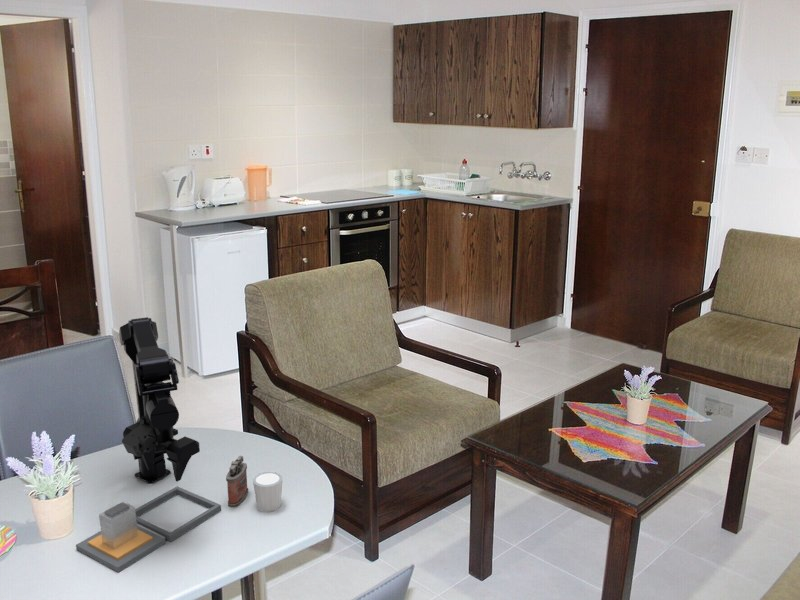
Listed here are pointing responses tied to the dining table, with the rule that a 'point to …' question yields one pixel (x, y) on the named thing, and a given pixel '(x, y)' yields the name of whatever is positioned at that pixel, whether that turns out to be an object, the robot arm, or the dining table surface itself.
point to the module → (118, 525)
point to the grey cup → (268, 490)
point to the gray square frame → (171, 536)
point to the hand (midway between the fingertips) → (164, 474)
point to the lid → (122, 548)
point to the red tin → (237, 482)
